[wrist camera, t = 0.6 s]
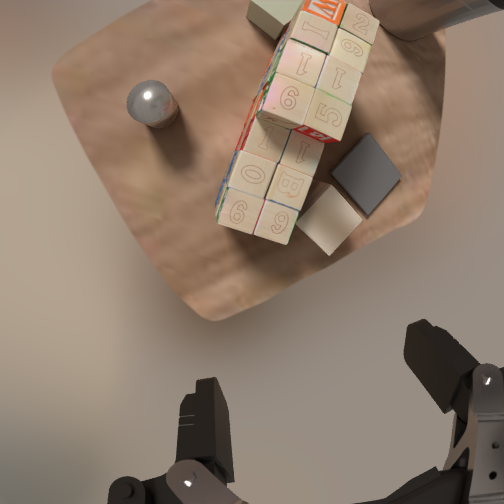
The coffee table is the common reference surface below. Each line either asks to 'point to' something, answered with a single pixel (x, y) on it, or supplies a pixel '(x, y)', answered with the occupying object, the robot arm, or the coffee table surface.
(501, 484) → the robot arm
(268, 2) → the sage green block
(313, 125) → the stack of blocks
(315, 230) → the cream block
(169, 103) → the grey capsule
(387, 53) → the coffee table surface
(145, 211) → the coffee table surface
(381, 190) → the charcoal pad
